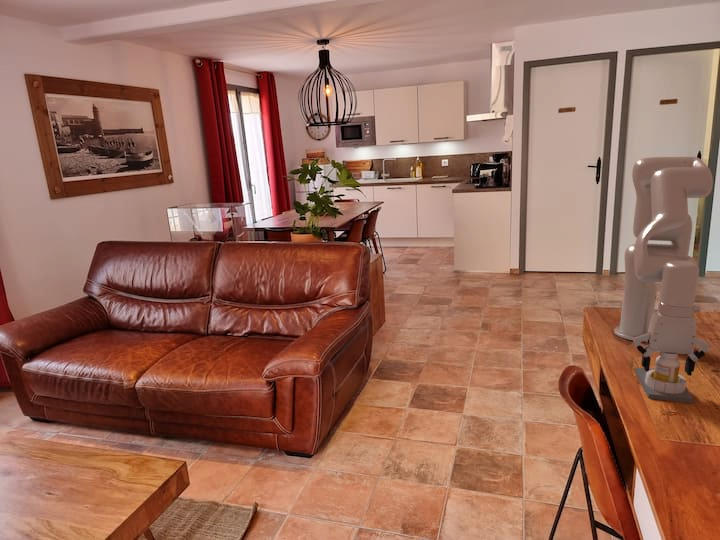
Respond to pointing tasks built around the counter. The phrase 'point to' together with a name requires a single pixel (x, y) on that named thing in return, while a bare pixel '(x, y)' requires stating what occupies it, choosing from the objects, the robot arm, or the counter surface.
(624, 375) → the counter surface
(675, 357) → the supplement bottle
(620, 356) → the counter surface
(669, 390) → the collar board
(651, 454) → the counter surface
